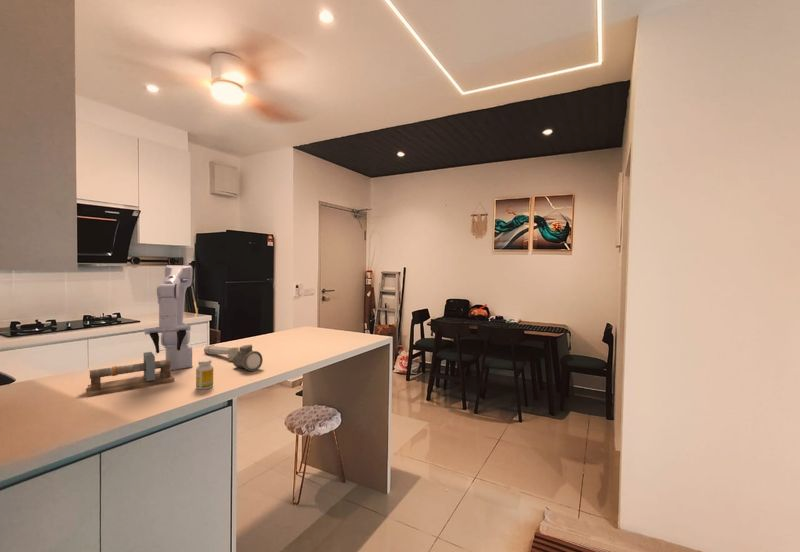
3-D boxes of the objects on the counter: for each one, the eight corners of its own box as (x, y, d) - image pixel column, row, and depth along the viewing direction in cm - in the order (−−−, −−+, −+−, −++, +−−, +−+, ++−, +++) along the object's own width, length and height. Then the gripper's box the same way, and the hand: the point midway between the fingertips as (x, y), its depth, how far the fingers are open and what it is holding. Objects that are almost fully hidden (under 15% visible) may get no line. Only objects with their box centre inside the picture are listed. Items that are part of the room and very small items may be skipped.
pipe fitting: (264, 367, 150) (261, 343, 150) (247, 374, 143) (243, 348, 143) (248, 366, 157) (245, 343, 156) (231, 372, 150) (227, 348, 150)
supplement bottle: (192, 389, 124) (192, 362, 124) (201, 384, 130) (201, 358, 129) (208, 389, 124) (208, 362, 124) (216, 384, 130) (216, 358, 129)
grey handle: (213, 344, 177) (243, 344, 163) (214, 358, 177) (244, 359, 163) (202, 346, 173) (232, 346, 159) (203, 360, 172) (233, 361, 158)
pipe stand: (168, 374, 140) (168, 355, 140) (174, 381, 132) (174, 361, 132) (87, 387, 124) (87, 366, 124) (88, 396, 116) (88, 374, 116)
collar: (151, 374, 136) (151, 351, 135) (154, 379, 129) (154, 356, 129) (143, 375, 134) (143, 352, 134) (146, 381, 128) (146, 357, 127)
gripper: (146, 318, 127) (146, 356, 128) (192, 315, 137) (192, 350, 137) (143, 316, 132) (143, 352, 133) (188, 313, 142) (188, 347, 142)
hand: (168, 351), depth 135 cm, fingers open, 6 cm apart
